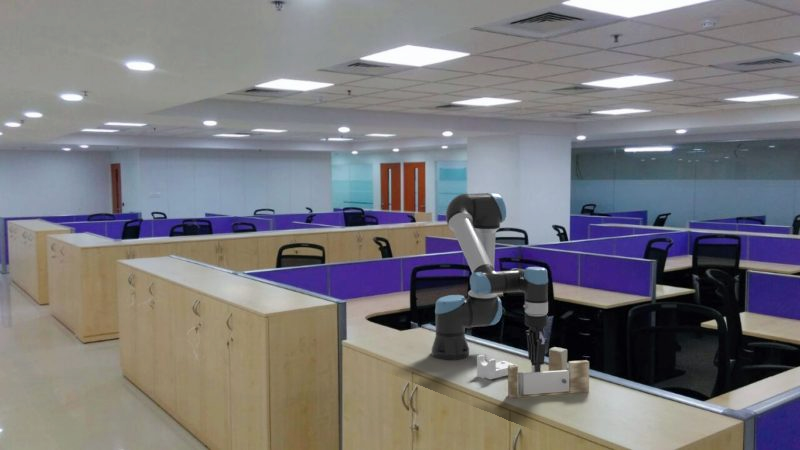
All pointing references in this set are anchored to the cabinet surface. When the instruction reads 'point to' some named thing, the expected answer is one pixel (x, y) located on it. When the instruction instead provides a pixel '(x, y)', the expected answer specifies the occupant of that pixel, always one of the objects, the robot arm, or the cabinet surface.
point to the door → (543, 382)
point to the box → (557, 359)
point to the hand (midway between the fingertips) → (536, 382)
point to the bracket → (491, 368)
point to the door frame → (576, 384)
